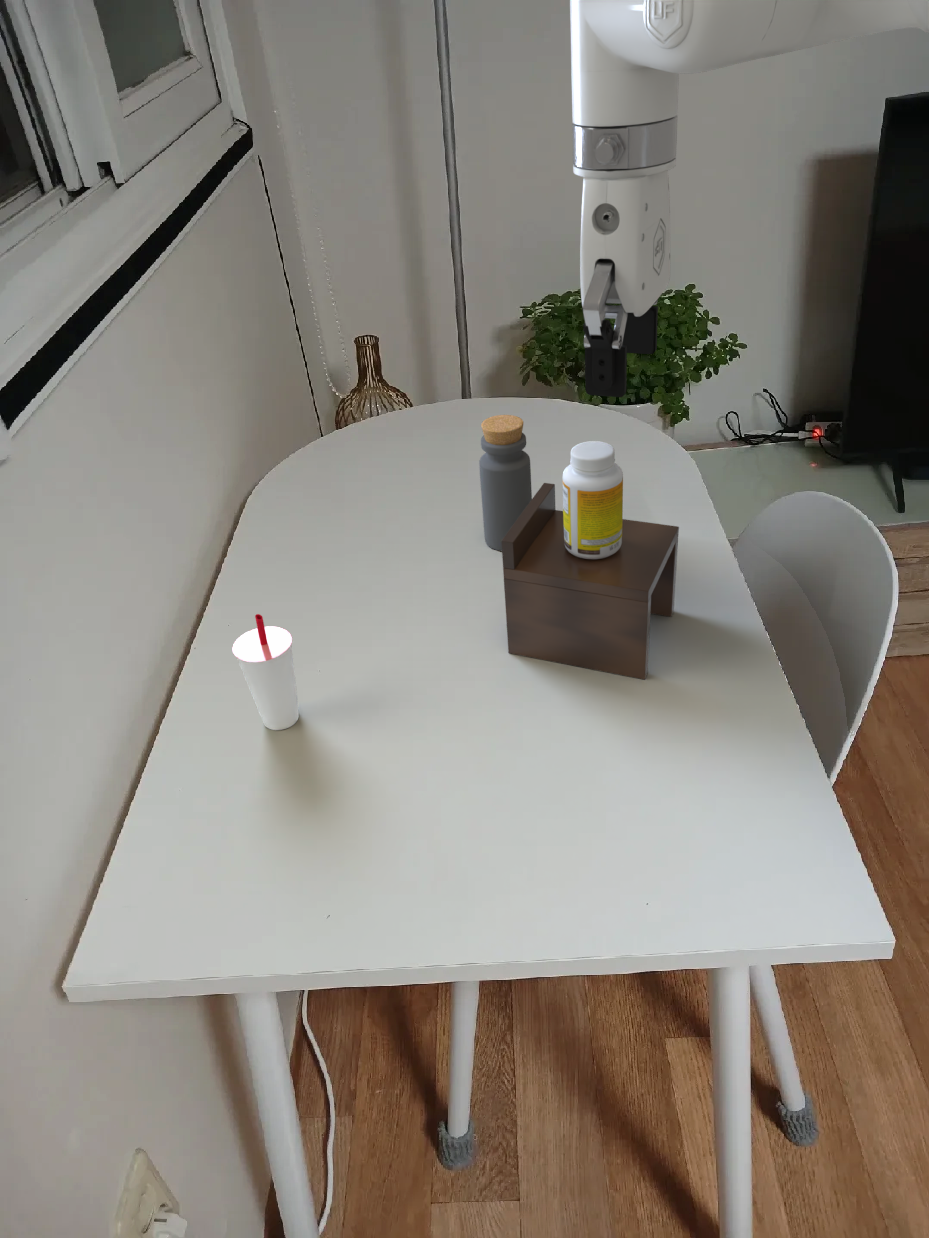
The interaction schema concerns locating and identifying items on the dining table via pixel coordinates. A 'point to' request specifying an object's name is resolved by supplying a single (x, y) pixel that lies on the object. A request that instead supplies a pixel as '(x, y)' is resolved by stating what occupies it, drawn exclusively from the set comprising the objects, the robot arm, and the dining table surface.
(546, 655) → the shelf
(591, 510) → the supplement bottle
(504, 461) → the bottle
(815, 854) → the dining table surface
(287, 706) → the cup
